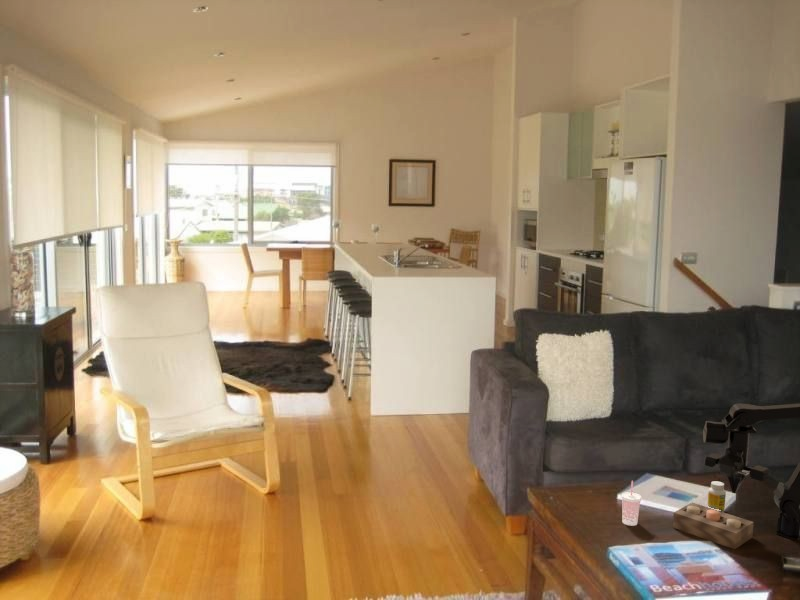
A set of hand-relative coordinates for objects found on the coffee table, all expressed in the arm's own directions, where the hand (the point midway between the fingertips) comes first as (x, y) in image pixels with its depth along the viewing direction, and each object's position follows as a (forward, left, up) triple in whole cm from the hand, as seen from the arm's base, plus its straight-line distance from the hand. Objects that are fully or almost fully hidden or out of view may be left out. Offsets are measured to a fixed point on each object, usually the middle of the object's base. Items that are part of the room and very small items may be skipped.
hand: (734, 492), depth 252 cm
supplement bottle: (+10, -10, -12) cm, 19 cm away
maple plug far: (+9, +7, -11) cm, 16 cm away
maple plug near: (-3, +7, -11) cm, 14 cm away
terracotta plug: (+3, +7, -10) cm, 13 cm away
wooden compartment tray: (+3, +7, -12) cm, 14 cm away
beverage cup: (+24, +20, -12) cm, 34 cm away
